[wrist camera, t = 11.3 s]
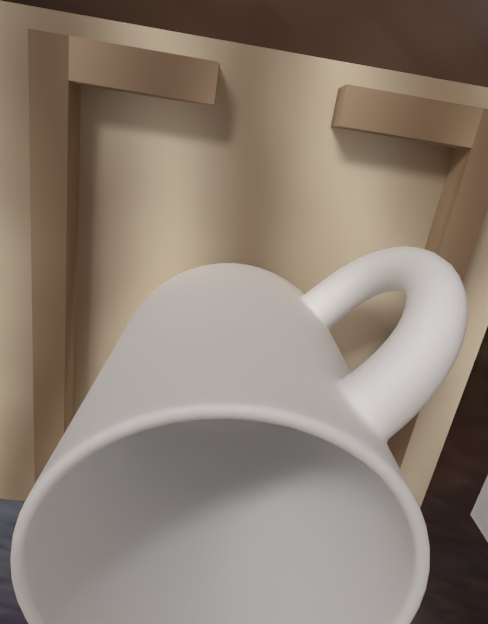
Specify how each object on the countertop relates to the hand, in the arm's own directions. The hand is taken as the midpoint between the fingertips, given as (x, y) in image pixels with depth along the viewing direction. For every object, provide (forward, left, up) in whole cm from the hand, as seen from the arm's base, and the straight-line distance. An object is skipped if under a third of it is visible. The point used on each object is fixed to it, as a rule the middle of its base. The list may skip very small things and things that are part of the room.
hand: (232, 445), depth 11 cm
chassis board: (-1, 0, -9) cm, 9 cm away
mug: (+1, 0, -8) cm, 8 cm away
